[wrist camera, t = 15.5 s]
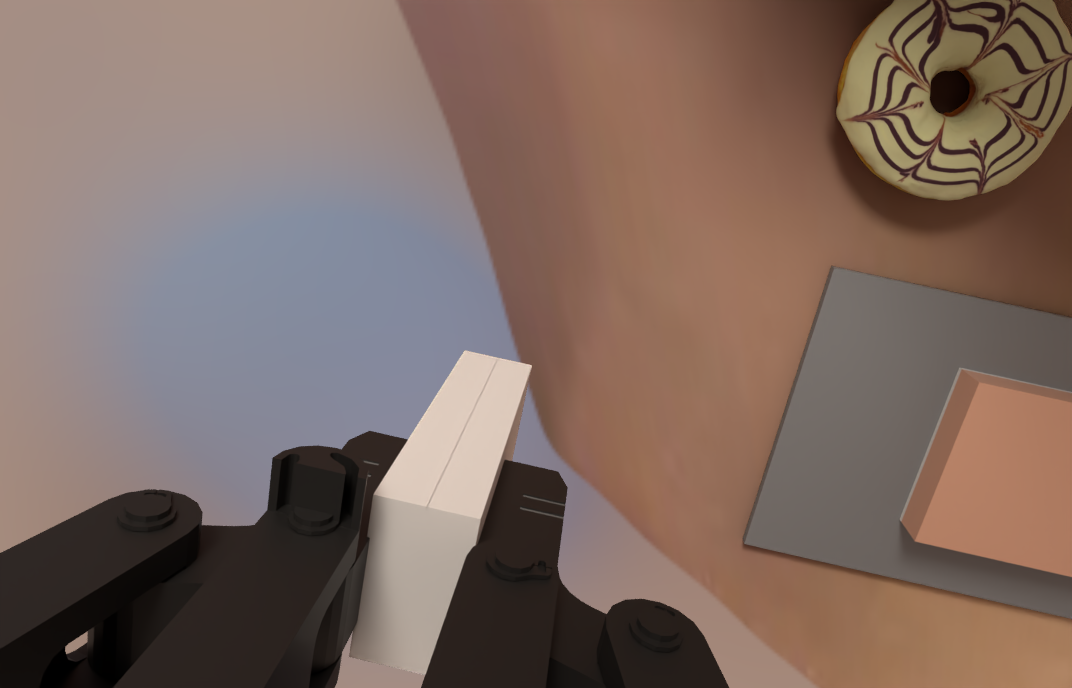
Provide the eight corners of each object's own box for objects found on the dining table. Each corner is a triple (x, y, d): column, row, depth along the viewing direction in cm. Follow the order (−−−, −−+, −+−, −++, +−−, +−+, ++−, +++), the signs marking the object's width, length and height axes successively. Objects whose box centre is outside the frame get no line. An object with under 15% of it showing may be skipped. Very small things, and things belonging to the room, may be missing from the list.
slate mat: (831, 265, 43) (834, 267, 42) (1261, 358, 42) (1270, 361, 41) (742, 538, 48) (744, 544, 48) (1121, 625, 48) (1128, 631, 47)
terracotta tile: (979, 382, 41) (1204, 431, 40) (959, 367, 43) (1172, 413, 43) (914, 541, 44) (1123, 588, 43) (899, 519, 46) (1097, 564, 46)
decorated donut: (905, -57, 38) (935, -75, 35) (1089, 42, 39) (1138, 35, 35) (792, 136, 41) (810, 137, 38) (964, 225, 42) (997, 236, 38)
